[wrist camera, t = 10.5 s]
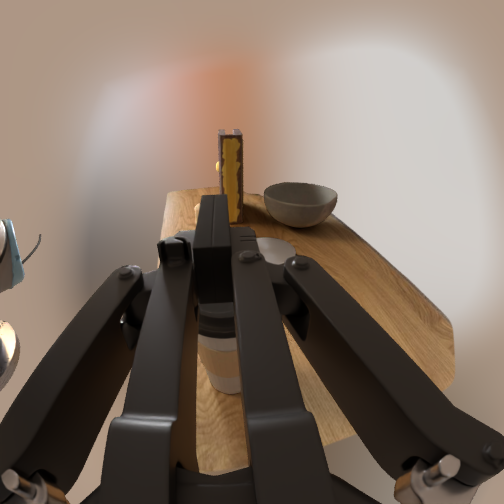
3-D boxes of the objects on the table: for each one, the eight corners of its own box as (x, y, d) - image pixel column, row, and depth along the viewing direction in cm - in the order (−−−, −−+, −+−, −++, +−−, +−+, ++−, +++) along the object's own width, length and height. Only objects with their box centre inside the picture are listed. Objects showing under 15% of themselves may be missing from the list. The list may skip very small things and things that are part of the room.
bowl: (284, 206, 93) (286, 177, 88) (342, 221, 82) (346, 190, 78) (248, 226, 79) (248, 191, 74) (316, 246, 68) (320, 208, 63)
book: (247, 223, 80) (247, 134, 68) (217, 224, 79) (213, 135, 67) (241, 198, 99) (241, 128, 87) (217, 199, 99) (215, 129, 86)
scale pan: (228, 247, 62) (228, 245, 61) (274, 235, 67) (274, 233, 67) (257, 274, 53) (257, 271, 52) (307, 257, 58) (307, 255, 58)
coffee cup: (274, 362, 38) (281, 276, 31) (250, 415, 31) (250, 335, 23) (214, 344, 41) (204, 260, 34) (183, 390, 33) (159, 307, 26)
